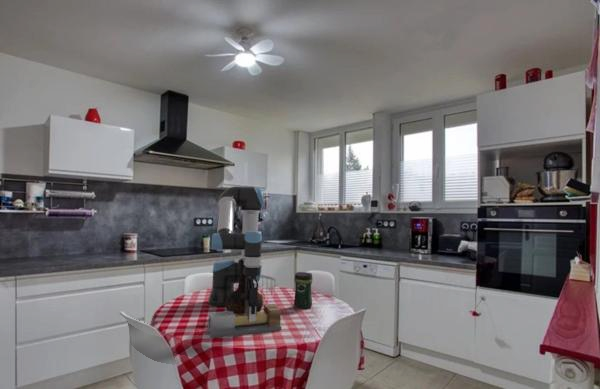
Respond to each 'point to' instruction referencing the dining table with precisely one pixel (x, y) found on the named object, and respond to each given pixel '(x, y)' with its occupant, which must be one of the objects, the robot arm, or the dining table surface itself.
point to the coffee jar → (303, 290)
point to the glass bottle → (240, 295)
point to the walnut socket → (273, 315)
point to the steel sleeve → (221, 321)
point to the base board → (245, 330)
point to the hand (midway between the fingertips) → (250, 318)
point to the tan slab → (244, 317)
